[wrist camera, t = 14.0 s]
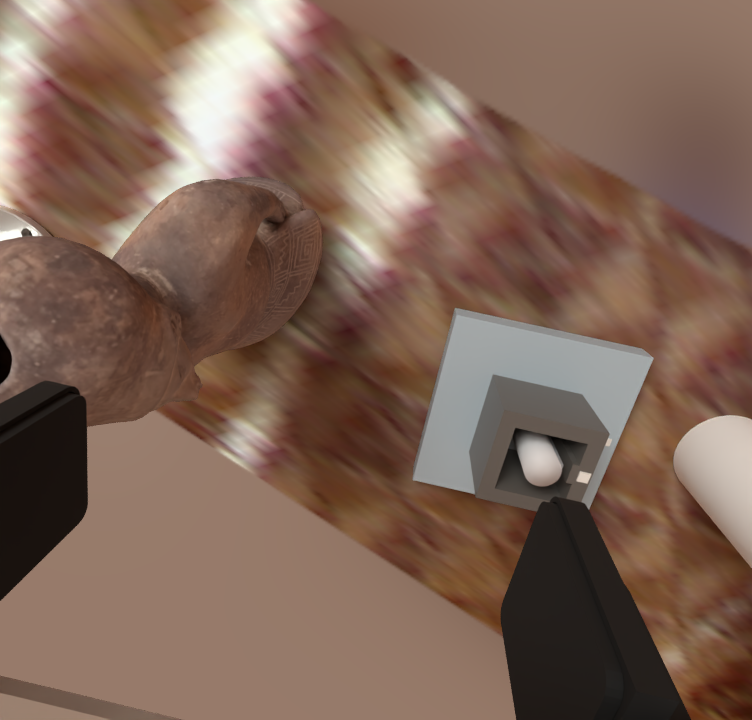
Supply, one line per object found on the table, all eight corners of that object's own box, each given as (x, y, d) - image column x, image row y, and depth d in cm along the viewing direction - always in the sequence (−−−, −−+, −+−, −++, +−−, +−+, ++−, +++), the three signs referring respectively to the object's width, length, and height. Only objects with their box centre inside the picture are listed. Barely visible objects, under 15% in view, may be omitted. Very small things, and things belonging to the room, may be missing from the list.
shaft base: (413, 466, 42) (409, 533, 34) (455, 307, 37) (462, 343, 29) (577, 504, 42) (612, 580, 34) (642, 348, 37) (700, 396, 29)
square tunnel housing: (492, 374, 37) (504, 410, 31) (582, 394, 36) (610, 434, 31) (468, 451, 39) (475, 498, 33) (552, 470, 39) (574, 521, 33)
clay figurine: (265, 355, 40) (35, 604, 17) (161, 274, 39) (-250, 424, 15) (366, 226, 36) (248, 318, 12) (254, 130, 34) (-120, 31, 11)
